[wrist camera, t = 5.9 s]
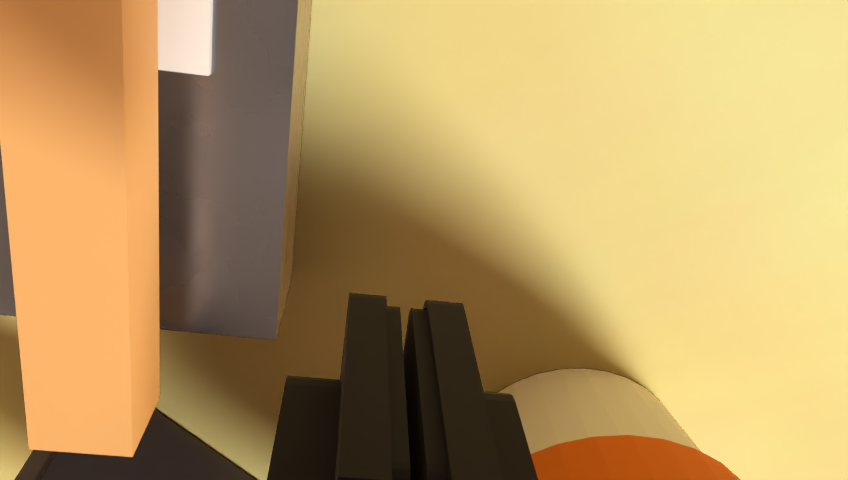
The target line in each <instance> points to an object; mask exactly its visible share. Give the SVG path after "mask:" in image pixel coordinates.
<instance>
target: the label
mask: <svg viewBox="0 0 848 480" xmlns="http://www.w3.org/2000/svg"><path fill="white" fill-rule="evenodd" d="M212 22H213V0H158V70H164V71H172V72H180V73H188V74H196V75H204V76H209V75H210V74H211V66H212Z"/></svg>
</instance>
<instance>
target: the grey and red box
mask: <svg viewBox="0 0 848 480" xmlns="http://www.w3.org/2000/svg"><path fill="white" fill-rule="evenodd" d="M15 480H255V479H254V478H252V477H251V476H250V475H248V474H247V473H245V472H244V471H242V470H241V469H240V468H238V467H237V466H235V465H234V464H232V463H231V462H230V461H228V460H227V459H225V458H224V457H222V456H221V455H220V454H218V453H217V452H215V451H214V450H212V449H211V448H210V447H208V446H207V445H205V444H204V443H202V442H201V441H200V440H198V439H197V438H195V437H194V436H192V435H191V434H190V433H188V432H187V431H185V430H184V429H182V428H181V427H179V426H178V425H177V424H175V423H174V422H172V421H171V420H169V419H168V418H167V417H165V416H164V415H162V414H161V413H159V412H158V411H157V410H155V409H154V411H153V414H152V416H151V418H150V420H149V422H148V425H147V427H146V429H145V431H144V433H143V436H142V438H141V440H140V442H139V444H138V446H137V449H136V451H135V453H134V455H133V457H124V456H110V455H97V454H84V453H71V452H58V451H44V450H33V452H32V453H31V455H30V456H29V458H28V460H27V461H26V463H25V464H24V466H23V467H22V469H21V470H20V472H19V474H18V475H17V477H16V478H15Z"/></svg>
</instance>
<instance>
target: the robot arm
mask: <svg viewBox="0 0 848 480" xmlns="http://www.w3.org/2000/svg"><path fill="white" fill-rule="evenodd" d="M267 480H538V477H537V474H536V470H535V467H534V464H533V460H532V457H531V453H530V450H529V446H528V443H527V440H526V436H525V433H524V429H523V426H522V422H521V419H520V416H519V412H518V409H517V405H516V402H515V400H514V397H513V395H511V394H509V393H496V392H484V391H483V388H482V384H481V380H480V375H479V371H478V367H477V362H476V358H475V354H474V349H473V345H472V341H471V336H470V332H469V328H468V323H467V319H466V314H465V310H464V306H463V304H462V303H452V302H441V301H430V300H426V301H425V303H424V307H423V309H413V308H411V309H410V313H409V318H408V325H407V332H406V339H405V346H404V353H403V347H402V331H401V316H400V307H391V306H387V299H386V296H376V295H365V294H354V293H350V294H349V302H348V311H347V320H346V329H345V338H344V348H343V357H342V366H341V375H340V380H334V379H322V378H309V377H297V376H287V379H286V384H285V389H284V394H283V399H282V404H281V410H280V415H279V420H278V425H277V431H276V436H275V441H274V446H273V451H272V457H271V462H270V467H269V472H268V478H267Z"/></svg>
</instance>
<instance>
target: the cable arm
mask: <svg viewBox="0 0 848 480" xmlns="http://www.w3.org/2000/svg"><path fill="white" fill-rule="evenodd" d="M0 145H1V156H2V166H3V177H4V188H5V199H6V209H7V220H8V231H9V242H10V252H11V263H12V274H13V285H14V295H15V306H16V317H17V327H18V338H19V349H20V360H21V370H22V381H23V392H24V403H25V413H26V424H27V435H28V446H29V449H31V450H44V451H58V452H71V453H84V454H97V455H110V456H124V457H133V455H134V453H135V451H136V449H137V446H138V444H139V442H140V440H141V438H142V436H143V433H144V431H145V429H146V427H147V425H148V422H149V420H150V418H151V416H152V414H153V411H154V409H155V407H156V405H157V403H158V401H159V398H160V325H159V151H158V0H0Z"/></svg>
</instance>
